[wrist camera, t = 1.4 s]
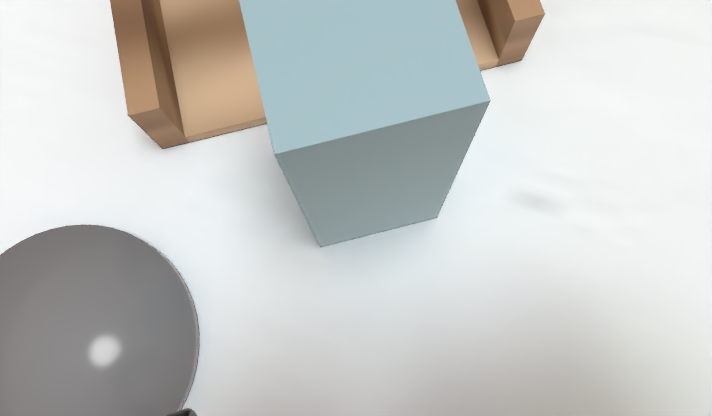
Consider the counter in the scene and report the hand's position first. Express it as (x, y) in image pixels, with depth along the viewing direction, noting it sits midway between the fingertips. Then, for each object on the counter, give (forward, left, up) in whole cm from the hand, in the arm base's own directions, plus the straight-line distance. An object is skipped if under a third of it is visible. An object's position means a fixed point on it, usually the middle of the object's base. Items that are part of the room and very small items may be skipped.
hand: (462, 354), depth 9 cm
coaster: (-5, +12, -13) cm, 19 cm away
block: (+6, +4, -13) cm, 15 cm away
